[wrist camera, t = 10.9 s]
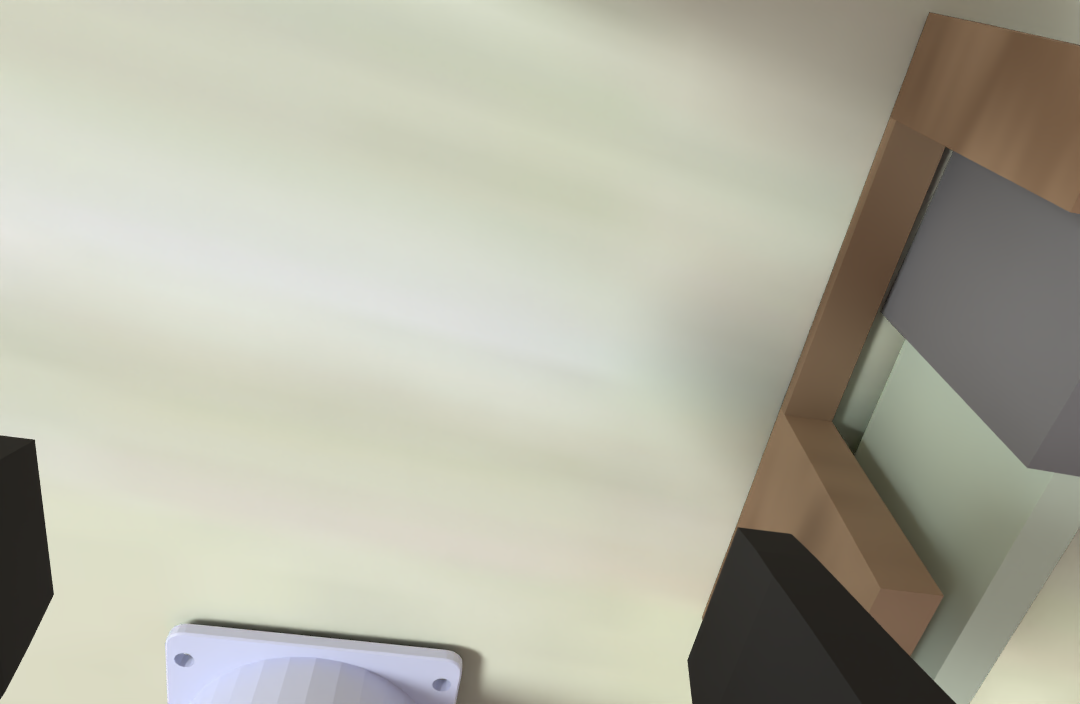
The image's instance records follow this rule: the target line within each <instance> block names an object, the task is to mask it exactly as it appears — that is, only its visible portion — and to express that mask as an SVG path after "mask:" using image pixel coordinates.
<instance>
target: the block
mask: <svg viewBox="0 0 1080 704" xmlns="http://www.w3.org/2000/svg"><path fill="white" fill-rule="evenodd" d="M881 313H882V314H883V315H884V316H885V317H886V319H887V320H888V321H889V322H890V323H891V324H892V325H893V326H894V327H895V328H896V329H897V330H898V331H899V332H900V333H901V334H902V336H903V337H904V338H905V339H906V340H907V341H908V342H909V343H910V344H911V345H912V346H913V347H914V348H915V349H916V350H917V351H918V353H919V354H920V355H921V356H922V357H923V358H924V359H925V360H926V361H927V362H928V363H929V364H930V365H931V366H932V367H933V368H934V370H935V371H936V372H937V373H938V374H939V375H940V376H941V377H942V378H943V379H944V380H945V381H946V382H947V383H948V384H949V386H950V387H951V388H952V389H953V390H954V391H955V392H956V393H957V394H958V395H959V396H960V397H961V398H962V399H963V400H964V401H965V403H966V404H967V405H968V406H969V407H970V408H971V409H972V410H973V411H974V412H975V413H976V414H977V415H978V416H979V417H980V418H981V420H982V421H983V422H984V423H985V424H986V425H987V426H988V427H989V428H990V429H991V430H992V431H993V432H994V433H995V434H996V435H997V437H998V438H999V439H1000V440H1001V441H1002V442H1003V443H1004V444H1005V445H1006V446H1007V447H1008V448H1009V449H1010V450H1011V451H1012V452H1013V454H1014V455H1015V456H1016V457H1017V458H1018V459H1019V460H1020V461H1021V462H1022V463H1023V464H1024V465H1025V466H1026V467H1027V468H1030V469H1036V470H1042V471H1048V472H1054V473H1060V474H1066V475H1072V476H1078V477H1080V214H1077V213H1071V212H1069V211H1067V210H1065V209H1063V208H1061V207H1059V206H1057V205H1055V204H1053V203H1052V202H1050V201H1048V200H1046V199H1044V198H1042V197H1040V196H1038V195H1036V194H1034V193H1033V192H1031V191H1029V190H1027V189H1025V188H1023V187H1021V186H1019V185H1017V184H1015V183H1014V182H1012V181H1010V180H1008V179H1006V178H1004V177H1002V176H1000V175H998V174H997V173H995V172H993V171H991V170H989V169H987V168H985V167H983V166H981V165H979V164H978V163H976V162H974V161H972V160H970V159H968V158H966V157H964V156H962V155H960V154H959V153H957V152H955V151H953V153H952V155H951V157H950V159H949V161H948V164H947V166H946V168H945V170H944V173H943V175H942V177H941V179H940V181H939V184H938V186H937V188H936V190H935V193H934V195H933V197H932V199H931V202H930V204H929V206H928V208H927V210H926V213H925V215H924V217H923V219H922V222H921V224H920V226H919V228H918V230H917V233H916V235H915V237H914V239H913V242H912V244H911V246H910V248H909V250H908V253H907V255H906V257H905V259H904V262H903V264H902V266H901V268H900V270H899V273H898V275H897V277H896V279H895V282H894V284H893V286H892V288H891V290H890V293H889V295H888V297H887V299H886V302H885V304H884V306H883V308H882V310H881Z"/></svg>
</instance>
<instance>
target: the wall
mask: <svg viewBox="0 0 1080 704" xmlns="http://www.w3.org/2000/svg"><path fill="white" fill-rule="evenodd" d="M945 147H947V148H949V149H951V150H953V151H955V152H957V153H959V154H960V155H962V156H964V157H966V158H968V159H970V160H972V161H974V162H976V163H978V164H979V165H981V166H983V167H985V168H987V169H989V170H991V171H993V172H995V173H997V174H998V175H1000V176H1002V177H1004V178H1006V179H1008V180H1010V181H1012V182H1014V183H1015V184H1017V185H1019V186H1021V187H1023V188H1025V189H1027V190H1029V191H1031V192H1033V193H1034V194H1036V195H1038V196H1040V197H1042V198H1044V199H1046V200H1048V201H1050V202H1052V203H1053V204H1055V205H1057V206H1059V207H1061V208H1063V209H1065V210H1067V211H1069V212H1071V213H1077V214H1080V45H1076V44H1072V43H1068V42H1063V41H1059V40H1054V39H1050V38H1046V37H1041V36H1037V35H1032V34H1028V33H1023V32H1019V31H1015V30H1010V29H1006V28H1001V27H997V26H992V25H988V24H983V23H978V22H974V21H969V20H964V19H959V18H954V17H949V16H944V15H940V14H935V13H930V12H929V15H928V17H927V20H926V23H925V25H924V28H923V31H922V33H921V36H920V39H919V41H918V44H917V47H916V49H915V52H914V55H913V57H912V60H911V63H910V65H909V68H908V71H907V73H906V76H905V79H904V81H903V84H902V87H901V89H900V92H899V95H898V97H897V100H896V103H895V105H894V108H893V111H892V113H891V116H890V119H889V121H888V124H887V127H886V129H885V132H884V135H883V137H882V140H881V143H880V145H879V148H878V151H877V153H876V156H875V159H874V161H873V164H872V166H871V169H870V172H869V174H868V177H867V180H866V182H865V185H864V188H863V190H862V193H861V196H860V198H859V201H858V204H857V206H856V209H855V212H854V214H853V217H852V220H851V222H850V225H849V228H848V230H847V233H846V236H845V238H844V241H843V244H842V246H841V249H840V252H839V254H838V257H837V260H836V262H835V265H834V268H833V270H832V273H831V276H830V278H829V281H828V284H827V286H826V289H825V292H824V294H823V297H822V300H821V302H820V305H819V308H818V310H817V313H816V316H815V318H814V321H813V324H812V326H811V329H810V331H809V334H808V337H807V339H806V342H805V345H804V347H803V350H802V353H801V355H800V358H799V361H798V363H797V366H796V369H795V371H794V374H793V377H792V379H791V382H790V385H789V387H788V390H787V393H786V395H785V398H784V401H783V403H782V406H781V409H780V411H779V414H778V417H777V419H776V422H775V425H774V427H773V430H772V433H771V435H770V438H769V441H768V443H767V446H766V449H765V451H764V454H763V457H762V459H761V462H760V465H759V467H758V470H757V473H756V475H755V478H754V481H753V483H752V486H751V489H750V491H749V494H748V497H747V499H746V502H745V504H744V507H743V510H742V512H741V515H740V518H739V520H738V523H737V526H736V528H735V531H734V534H733V536H732V539H731V542H730V544H729V547H728V550H727V552H726V555H725V558H724V560H723V563H722V566H721V568H720V571H719V574H718V576H717V579H716V582H715V584H714V587H713V590H712V592H711V595H710V598H709V600H708V603H707V606H706V608H705V611H704V614H703V616H702V620H703V618H704V615H705V613H706V610H707V607H708V605H709V602H710V599H711V597H712V594H713V591H714V589H715V586H716V583H717V581H718V578H719V576H720V573H721V570H722V568H723V565H724V562H725V560H726V557H727V554H728V552H729V549H730V546H731V544H732V541H733V538H734V536H735V533H736V530H737V528H738V527H740V528H748V529H756V530H764V531H773V532H781V533H789V534H792V535H793V536H794V537H795V538H796V539H797V540H798V541H799V542H801V543H802V544H803V545H804V546H805V547H806V548H807V549H808V550H809V551H810V552H811V553H812V554H813V555H814V556H815V557H816V558H817V559H818V560H819V561H820V562H821V563H822V564H823V565H824V566H825V568H826V569H827V570H828V571H829V572H830V573H831V574H832V575H833V576H834V577H835V578H836V579H837V580H838V581H839V582H840V583H841V584H842V585H843V586H844V587H845V588H846V589H847V591H848V592H849V593H850V594H851V595H852V596H853V597H854V598H855V599H856V600H857V601H858V602H859V603H860V604H861V605H862V606H863V607H864V608H865V610H866V611H867V612H868V613H869V614H870V615H871V616H872V617H873V618H874V619H875V620H876V621H877V622H878V623H879V624H880V625H881V626H882V627H883V629H884V630H885V631H886V632H887V633H888V634H889V635H890V636H891V637H892V638H893V639H894V640H895V641H896V642H897V643H898V644H899V645H900V646H901V647H902V648H903V649H904V650H905V651H906V653H907V654H908V655H909V656H911V654H912V653H913V651H914V649H915V647H916V645H917V644H918V642H919V640H920V638H921V636H922V635H923V633H924V631H925V629H926V627H927V626H928V624H929V622H930V620H931V618H932V616H933V615H934V613H935V611H936V609H937V607H938V606H939V604H940V602H941V600H942V598H943V597H944V595H943V594H942V592H941V591H940V589H939V588H938V586H937V584H936V583H935V581H934V580H933V578H932V577H931V575H930V574H929V572H928V570H927V569H926V567H925V566H924V564H923V563H922V561H921V560H920V558H919V556H918V555H917V553H916V552H915V550H914V549H913V547H912V546H911V544H910V542H909V541H908V539H907V538H906V536H905V535H904V533H903V532H902V530H901V528H900V527H899V525H898V524H897V522H896V521H895V519H894V518H893V516H892V514H891V513H890V511H889V510H888V508H887V507H886V505H885V503H884V502H883V500H882V499H881V497H880V496H879V494H878V493H877V491H876V489H875V488H874V486H873V485H872V483H871V482H870V480H869V479H868V477H867V475H866V474H865V472H864V471H863V469H862V468H861V466H860V465H859V463H858V461H857V460H856V458H855V457H854V455H853V454H852V452H851V451H850V449H849V447H848V446H847V444H846V443H845V441H844V440H843V438H842V436H841V435H840V433H839V432H838V430H837V429H836V427H835V426H834V424H833V422H832V420H833V418H834V415H835V413H836V410H837V408H838V406H839V403H840V401H841V398H842V396H843V393H844V391H845V389H846V386H847V384H848V381H849V379H850V377H851V374H852V372H853V369H854V367H855V364H856V362H857V360H858V357H859V355H860V352H861V350H862V348H863V345H864V343H865V340H866V338H867V335H868V333H869V331H870V328H871V326H872V323H873V321H874V319H875V316H876V314H877V311H878V309H879V306H880V304H881V302H882V299H883V297H884V294H885V292H886V290H887V287H888V285H889V282H890V280H891V277H892V275H893V273H894V270H895V268H896V265H897V263H898V260H899V258H900V256H901V253H902V251H903V248H904V246H905V244H906V241H907V239H908V236H909V234H910V231H911V229H912V227H913V224H914V222H915V219H916V217H917V215H918V212H919V210H920V207H921V205H922V202H923V200H924V198H925V195H926V193H927V190H928V188H929V186H930V183H931V181H932V178H933V176H934V173H935V171H936V169H937V166H938V164H939V161H940V159H941V157H942V154H943V152H944V149H945Z"/></svg>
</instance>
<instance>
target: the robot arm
mask: <svg viewBox="0 0 1080 704" xmlns="http://www.w3.org/2000/svg"><path fill="white" fill-rule="evenodd" d="M53 595H54V592H53V584H52V576H51V568H50V560H49V552H48V544H47V536H46V527H45V519H44V511H43V503H42V495H41V487H40V479H39V471H38V463H37V455H36V447H35V440H32V439H24V438H16V437H8V436H0V699H1V697H2V696H3V694H4V693H5V691H6V689H7V687H8V685H9V683H10V682H11V680H12V678H13V676H14V674H15V672H16V670H17V668H18V666H19V664H20V662H21V660H22V658H23V657H24V655H25V653H26V651H27V649H28V647H29V645H30V643H31V641H32V639H33V637H34V634H35V632H36V630H37V628H38V626H39V624H40V622H41V620H42V618H43V616H44V614H45V612H46V610H47V607H48V605H49V603H50V601H51V599H52V597H53ZM165 649H166V673H167V698H168V704H456V700H457V695H458V690H459V685H460V680H461V675H462V659H461V657H460V656H459V655H458V654H457V653H455V652H453V651H449V650H443V649H433V648H423V647H413V646H403V645H394V644H384V643H374V642H364V641H354V640H344V639H334V638H325V637H315V636H305V635H295V634H285V633H275V632H265V631H256V630H246V629H236V628H226V627H216V626H206V625H196V624H180V625H177V626H174V627H173V628H172V629H171V631H170V633H169V635H168V637H167V639H166V643H165ZM184 653H185V654H184ZM186 654H189V655H186ZM688 669H689V678H690V687H691V696H692V704H956V703H955V702H954V701H953V700H952V699H951V698H950V697H949V696H948V694H947V693H946V692H945V691H944V690H943V689H942V688H941V687H940V686H939V685H938V684H937V683H936V682H935V681H934V680H933V679H932V678H931V677H930V676H929V675H928V674H927V673H926V672H925V671H924V670H923V669H922V668H921V667H920V666H919V665H918V664H917V663H916V662H915V661H914V660H913V659H912V658H911V657H910V656H909V655H908V654H907V653H906V651H905V650H904V649H903V648H902V647H901V646H900V645H899V644H898V643H897V642H896V641H895V640H894V639H893V638H892V637H891V636H890V635H889V634H888V633H887V632H886V631H885V630H884V629H883V627H882V626H881V625H880V624H879V623H878V622H877V621H876V620H875V619H874V618H873V617H872V616H871V615H870V614H869V613H868V612H867V611H866V610H865V608H864V607H863V606H862V605H861V604H860V603H859V602H858V601H857V600H856V599H855V598H854V597H853V596H852V595H851V594H850V593H849V592H848V591H847V589H846V588H845V587H844V586H843V585H842V584H841V583H840V582H839V581H838V580H837V579H836V578H835V577H834V576H833V575H832V574H831V573H830V572H829V571H828V570H827V569H826V568H825V566H824V565H823V564H822V563H821V562H820V561H819V560H818V559H817V558H816V557H815V556H814V555H813V554H812V553H811V552H810V551H809V550H808V549H807V548H806V547H805V546H804V545H803V544H802V543H801V542H799V541H798V540H797V539H796V538H795V537H794V536H793V535H792V534H789V533H781V532H773V531H764V530H756V529H748V528H740V527H738V528H737V530H736V533H735V536H734V538H733V541H732V544H731V546H730V549H729V552H728V554H727V557H726V560H725V562H724V565H723V568H722V570H721V573H720V576H719V578H718V581H717V583H716V586H715V589H714V591H713V594H712V597H711V599H710V602H709V605H708V607H707V610H706V613H705V615H704V618H703V621H702V623H701V626H700V629H699V631H698V634H697V636H696V639H695V642H694V644H693V647H692V650H691V652H690V655H689V658H688ZM442 678H443V679H446V680H440V679H442Z"/></svg>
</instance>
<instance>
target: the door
mask: <svg viewBox="0 0 1080 704" xmlns="http://www.w3.org/2000/svg"><path fill="white" fill-rule="evenodd" d="M854 457H855V458H856V460H857V461H858V463H859V465H860V466H861V468H862V469H863V471H864V472H865V474H866V475H867V477H868V479H869V480H870V482H871V483H872V485H873V486H874V488H875V489H876V491H877V493H878V494H879V496H880V497H881V499H882V500H883V502H884V503H885V505H886V507H887V508H888V510H889V511H890V513H891V514H892V516H893V518H894V519H895V521H896V522H897V524H898V525H899V527H900V528H901V530H902V532H903V533H904V535H905V536H906V538H907V539H908V541H909V542H910V544H911V546H912V547H913V549H914V550H915V552H916V553H917V555H918V556H919V558H920V560H921V561H922V563H923V564H924V566H925V567H926V569H927V570H928V572H929V574H930V575H931V577H932V578H933V580H934V581H935V583H936V584H937V586H938V588H939V589H940V591H941V592H942V594H943V595H944V597H943V598H942V600H941V602H940V604H939V606H938V607H937V609H936V611H935V613H934V615H933V616H932V618H931V620H930V622H929V624H928V626H927V627H926V629H925V631H924V633H923V635H922V636H921V638H920V640H919V642H918V644H917V645H916V647H915V649H914V651H913V653H912V654H911V656H910V657H911V658H912V659H913V660H914V661H915V662H916V663H917V664H918V665H919V666H920V667H921V668H922V669H923V670H924V671H925V672H926V673H927V674H928V675H929V676H930V677H931V678H932V679H933V680H934V681H935V682H936V683H937V684H938V685H939V686H940V687H941V688H942V689H943V690H944V691H945V692H946V693H947V694H948V696H949V697H950V698H951V699H952V700H953V701H954V702H955V703H956V704H970V702H971V701H972V699H973V697H974V696H975V694H976V693H977V691H978V689H979V688H980V686H981V685H982V683H983V681H984V680H985V678H986V677H987V675H988V673H989V672H990V670H991V669H992V667H993V665H994V664H995V662H996V661H997V659H998V657H999V656H1000V654H1001V653H1002V651H1003V649H1004V648H1005V646H1006V645H1007V643H1008V641H1009V640H1010V638H1011V637H1012V635H1013V633H1014V632H1015V630H1016V629H1017V627H1018V625H1019V624H1020V622H1021V621H1022V619H1023V617H1024V616H1025V614H1026V613H1027V611H1028V609H1029V608H1030V606H1031V605H1032V603H1033V601H1034V600H1035V598H1036V597H1037V595H1038V593H1039V592H1040V590H1041V588H1042V587H1043V585H1044V584H1045V582H1046V580H1047V579H1048V577H1049V576H1050V574H1051V572H1052V571H1053V569H1054V568H1055V566H1056V564H1057V563H1058V561H1059V560H1060V558H1061V556H1062V555H1063V553H1064V552H1065V550H1066V548H1067V547H1068V545H1069V544H1070V542H1071V540H1072V539H1073V537H1074V536H1075V534H1076V532H1077V531H1078V529H1079V528H1080V477H1078V476H1072V475H1066V474H1060V473H1054V472H1048V471H1042V470H1036V469H1030V468H1027V467H1026V466H1025V465H1024V464H1023V463H1022V462H1021V461H1020V460H1019V459H1018V458H1017V457H1016V456H1015V455H1014V454H1013V452H1012V451H1011V450H1010V449H1009V448H1008V447H1007V446H1006V445H1005V444H1004V443H1003V442H1002V441H1001V440H1000V439H999V438H998V437H997V435H996V434H995V433H994V432H993V431H992V430H991V429H990V428H989V427H988V426H987V425H986V424H985V423H984V422H983V421H982V420H981V418H980V417H979V416H978V415H977V414H976V413H975V412H974V411H973V410H972V409H971V408H970V407H969V406H968V405H967V404H966V403H965V401H964V400H963V399H962V398H961V397H960V396H959V395H958V394H957V393H956V392H955V391H954V390H953V389H952V388H951V387H950V386H949V384H948V383H947V382H946V381H945V380H944V379H943V378H942V377H941V376H940V375H939V374H938V373H937V372H936V371H935V370H934V368H933V367H932V366H931V365H930V364H929V363H928V362H927V361H926V360H925V359H924V358H923V357H922V356H921V355H920V354H919V353H918V351H917V350H916V349H915V348H914V347H913V346H912V345H911V344H910V343H909V342H908V341H907V340H906V339H905V341H904V343H903V346H902V348H901V350H900V353H899V355H898V357H897V359H896V362H895V364H894V366H893V369H892V371H891V373H890V375H889V378H888V380H887V382H886V384H885V387H884V389H883V391H882V394H881V396H880V398H879V400H878V403H877V405H876V407H875V410H874V412H873V414H872V416H871V419H870V421H869V423H868V426H867V428H866V430H865V432H864V435H863V437H862V439H861V441H860V444H859V446H858V448H857V451H856V453H855V455H854Z"/></svg>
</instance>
